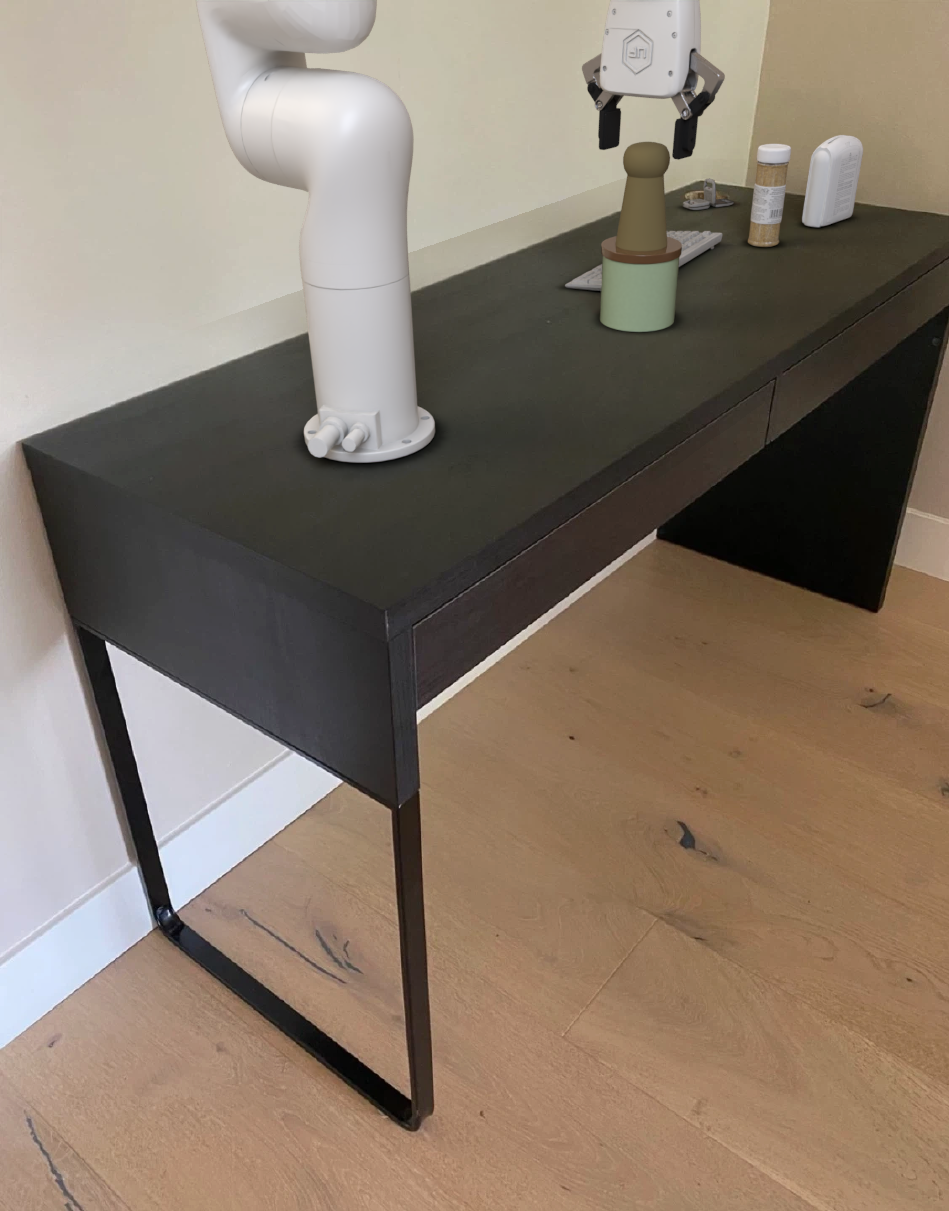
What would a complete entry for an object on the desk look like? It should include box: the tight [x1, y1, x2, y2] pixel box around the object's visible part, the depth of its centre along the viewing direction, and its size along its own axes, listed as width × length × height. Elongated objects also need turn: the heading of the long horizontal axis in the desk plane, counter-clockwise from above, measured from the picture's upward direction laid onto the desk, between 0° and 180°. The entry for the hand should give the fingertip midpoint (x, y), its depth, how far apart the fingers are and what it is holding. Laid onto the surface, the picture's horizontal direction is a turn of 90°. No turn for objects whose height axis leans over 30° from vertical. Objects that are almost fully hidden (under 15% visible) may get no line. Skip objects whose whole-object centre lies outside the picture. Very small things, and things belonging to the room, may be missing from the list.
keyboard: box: [564, 230, 723, 292], centre depth 145 cm, size 29×10×2 cm, turn 147°
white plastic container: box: [801, 134, 864, 228], centre depth 159 cm, size 10×4×12 cm, turn 134°
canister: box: [599, 235, 682, 333], centre depth 124 cm, size 9×9×9 cm
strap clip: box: [682, 178, 735, 211], centre depth 172 cm, size 8×3×4 cm, turn 113°
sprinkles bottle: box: [747, 143, 792, 248], centre depth 149 cm, size 5×5×14 cm
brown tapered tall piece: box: [615, 141, 671, 251], centre depth 119 cm, size 6×6×11 cm
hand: (644, 152), depth 116 cm, fingers open, 9 cm apart
